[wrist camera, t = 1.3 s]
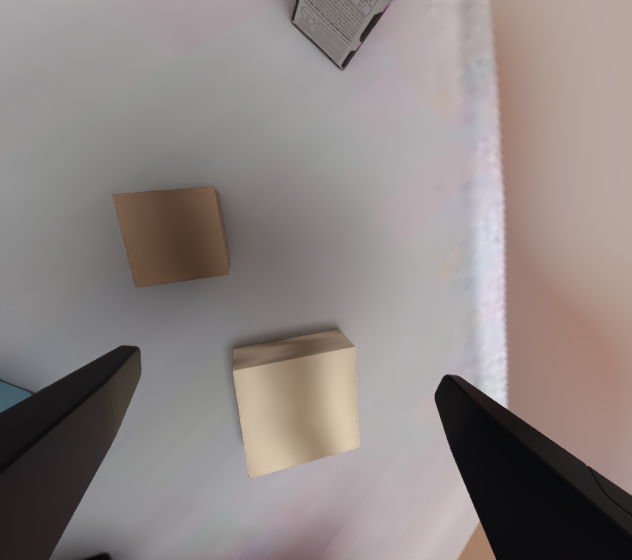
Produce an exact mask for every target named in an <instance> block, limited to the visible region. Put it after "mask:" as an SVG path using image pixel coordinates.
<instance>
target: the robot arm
mask: <svg viewBox="0 0 632 560" xmlns="http://www.w3.org/2000/svg"><path fill="white" fill-rule="evenodd" d="M140 376H141V353H140V349H139V347H137V346H127V345H122V346H119V347H117V348H116V349H114V350H112V351H110V352H108V353H107V354H105V355H103V356H101V357H99V358H98V359H96V360H94V361H92V362H90V363H89V364H87V365H85V366H83V367H81V368H80V369H78V370H76V371H74V372H72V373H71V374H69V375H67V376H65V377H63V378H62V379H60V380H58V381H56V382H54V383H53V384H51V385H49V386H47V387H45V388H44V389H42V390H40V391H38V392H36V393H35V394H33V395H31V396H29V397H27V398H26V399H24V400H22V401H20V402H18V403H17V404H15V405H13V406H11V407H9V408H8V409H6V410H4V411H2V412H0V560H49V558H50V556H51V554H52V552H53V551H54V549H55V547H56V545H57V543H58V541H59V540H60V538H61V536H62V534H63V532H64V530H65V529H66V527H67V525H68V523H69V521H70V519H71V518H72V516H73V514H74V512H75V510H76V509H77V507H78V505H79V503H80V501H81V499H82V498H83V496H84V494H85V492H86V490H87V488H88V487H89V485H90V483H91V481H92V479H93V477H94V476H95V474H96V472H97V470H98V468H99V466H100V465H101V463H102V461H103V459H104V457H105V455H106V454H107V452H108V450H109V448H110V446H111V444H112V442H113V440H114V439H115V437H116V434H117V432H118V430H119V428H120V425H121V423H122V420H123V418H124V416H125V413H126V411H127V408H128V406H129V404H130V401H131V399H132V396H133V394H134V392H135V389H136V387H137V384H138V382H139V379H140ZM435 402H436V406H437V409H438V412H439V415H440V418H441V421H442V425H443V428H444V431H445V434H446V437H447V440H448V443H449V446H450V449H451V452H452V454H453V457H454V459H455V462H456V464H457V466H458V469H459V471H460V474H461V476H462V479H463V481H464V483H465V486H466V488H467V491H468V493H469V495H470V498H471V500H472V503H473V505H474V507H475V510H476V512H477V515H478V517H479V519H480V522H481V524H482V527H483V529H484V531H485V534H486V536H487V539H488V541H489V543H490V546H491V548H492V550H493V553H494V556H495V558H496V560H632V495H630V494H628V493H627V492H625V491H624V490H623V489H621V488H620V487H618V486H617V485H615V484H614V483H612V482H611V481H609V480H608V479H607V478H605V477H604V476H602V475H601V474H599V473H598V472H597V471H595V470H593V469H592V468H591V467H589V466H586V464H585V463H584V462H582V461H581V460H579V459H578V458H576V457H575V456H573V455H572V454H570V453H569V452H568V451H566V450H565V449H563V448H562V447H560V446H559V445H558V444H556V443H555V442H553V441H552V440H550V439H549V438H548V437H546V436H545V435H543V434H542V433H540V432H539V431H537V430H536V429H535V428H533V427H532V426H530V425H529V424H527V423H526V422H525V421H523V420H522V419H520V418H519V417H517V416H516V415H514V414H513V413H512V412H510V411H509V410H507V409H506V408H504V407H503V406H502V405H500V404H499V403H497V402H496V401H494V400H493V399H492V398H490V397H489V396H487V395H486V394H484V393H483V392H481V391H480V390H479V389H477V388H476V387H474V386H473V385H471V384H470V383H469V382H467V381H466V380H464V379H463V378H461V377H460V376H457V375H449V374H448V375H445V376H444V377H443V378H442V380H441V382H440V384H439V386H438V388H437V390H436V392H435ZM89 560H110V558H109V556H107V555H101V556H98V557H95V558H92V559H89Z"/></svg>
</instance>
